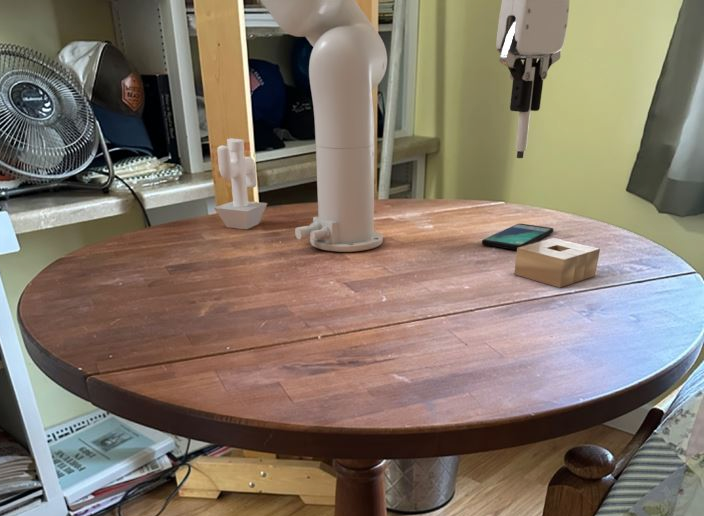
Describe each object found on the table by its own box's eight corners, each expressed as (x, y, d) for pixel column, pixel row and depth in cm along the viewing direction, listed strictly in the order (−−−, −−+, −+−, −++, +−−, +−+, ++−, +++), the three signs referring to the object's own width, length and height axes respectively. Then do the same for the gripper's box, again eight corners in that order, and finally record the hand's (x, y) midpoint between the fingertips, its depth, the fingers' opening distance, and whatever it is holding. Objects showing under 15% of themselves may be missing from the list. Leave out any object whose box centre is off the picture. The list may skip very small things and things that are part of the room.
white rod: (520, 159, 106) (530, 67, 100) (512, 157, 107) (521, 67, 101) (527, 157, 107) (537, 66, 101) (519, 156, 108) (528, 66, 102)
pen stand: (559, 287, 100) (564, 259, 98) (513, 274, 105) (517, 247, 103) (595, 276, 104) (600, 248, 102) (549, 263, 110) (553, 237, 107)
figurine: (271, 221, 136) (266, 136, 127) (245, 233, 128) (237, 143, 120) (240, 218, 138) (232, 134, 130) (212, 229, 131) (202, 141, 123)
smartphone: (555, 228, 125) (518, 246, 115) (554, 232, 125) (518, 251, 115) (518, 222, 128) (479, 240, 118) (518, 227, 129) (479, 244, 119)
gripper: (557, -40, 100) (538, 105, 110) (481, -45, 92) (469, 112, 102) (602, -44, 95) (578, 108, 105) (526, -49, 87) (508, 117, 97)
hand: (524, 109), depth 104 cm, fingers closed on white rod, 1 cm apart
